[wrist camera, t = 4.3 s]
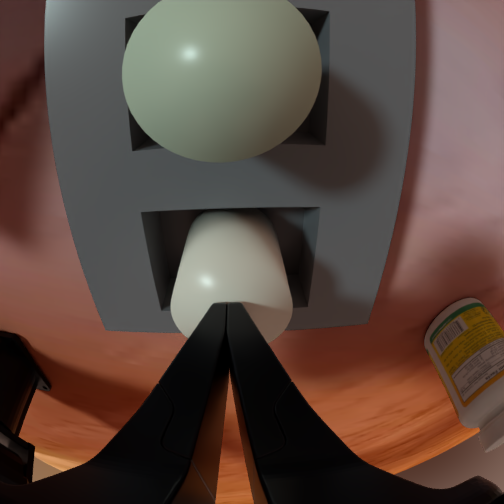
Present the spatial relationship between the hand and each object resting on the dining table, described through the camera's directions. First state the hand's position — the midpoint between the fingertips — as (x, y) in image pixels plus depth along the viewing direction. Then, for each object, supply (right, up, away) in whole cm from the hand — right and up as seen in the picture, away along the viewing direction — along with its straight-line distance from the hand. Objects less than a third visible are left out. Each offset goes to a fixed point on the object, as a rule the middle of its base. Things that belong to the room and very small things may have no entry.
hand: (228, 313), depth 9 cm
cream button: (0, +2, +3) cm, 4 cm away
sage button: (0, +7, -1) cm, 7 cm away
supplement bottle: (+15, -3, +9) cm, 18 cm away
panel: (0, +8, +1) cm, 8 cm away
